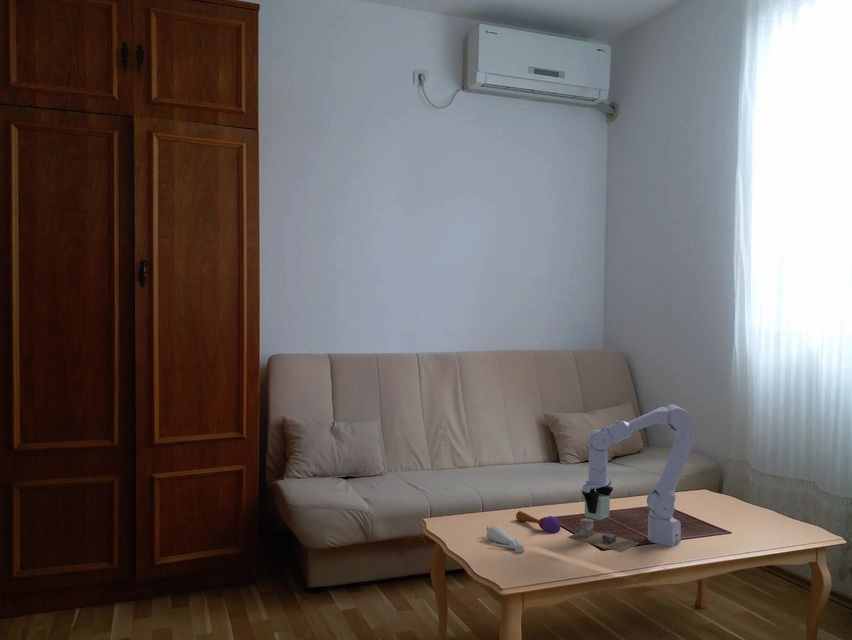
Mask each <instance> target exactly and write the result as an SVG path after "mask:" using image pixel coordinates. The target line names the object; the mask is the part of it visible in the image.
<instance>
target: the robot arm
mask: <svg viewBox="0 0 852 640" xmlns="http://www.w3.org/2000/svg"><path fill="white" fill-rule="evenodd" d="M655 424H659V425H664V426H669V428H671V430H672V432H673V434H674V436H675V440H674V441H673V445H672V447H671V450H670V452H669V455H668V458H667V460H666V463H665V466H664V468H663V471H662V474H661V476H660V478H659V480H658V481H659V482H658V483H657V484H656V485H655V486H654V488H653V490H652V491H651V492H650V493H649V494H648V495H647V497H646V504H647V506H648V508H649V511H648V513H647V515H648V518H647V519H648V520H647V521H648V522H647V523H648V524H647V540H648V541H649V542H651V543H654V544H659V545H663V546H668V547H672V548H673V547H675V546H677V545H679V544H680V543H681V540H682V537H681V535H682V534H681V533H682V525H681V521H680V520H679V519H675V518H674V517H673V515H674V513H675V508H676V507H675V501H676V488H677V486H678V484H679V481H680V478H681V476H682V473H683V469H684V467H685V465H686V463H687V459H688V457H689V454H690V452H691V449H692V446H693V444H694V442H695V438H696V436H695V431H694V425H693V418H692V415H690V413H689V412H688V410H687V409H684V408H681V407H679V406H677V405H676V404H674V403H673V404H672V403H670V404H666V405H665V406H660V407H657V408H656V409H654V410H652V411H649V412H647V413H645V414H642V415H640V416H638V417H636V418H634V419H631V420H630V421H625V420H618V419H616V420H614V423H612V424H610V425H607V426H600V429H594V430H591V432H590V433H589V434H588V437H587V438H586V439H587V443H588V444H589V453H588V479H585V484H583V485H582V489H581V494H582V495H583V498H584V501H585V500H586V503H587V507H588V511H589V513H593V514H595V512H596V508H597V501H598V498H599V495H600V494H603V495H607V496H610V497H611V494H612V492H613V489H614V487H613V486H612V484H613V479H612V478H611V477H610V478H608V448H609V447H610V446H611V445H614V444H616V443H619V442H621V441H623V440H626V439H629V438H630V437H631V436H632V434H633V432H635V431H638V430H642V429H644V428H646V427H650V426H653V425H655Z"/></svg>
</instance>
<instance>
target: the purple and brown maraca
mask: <svg viewBox="0 0 852 640" xmlns="http://www.w3.org/2000/svg"><path fill="white" fill-rule="evenodd" d="M515 518H516V520H517V521H520V522H526V523H533V524H537V525H539V527H540V529H541V530H542V531H544V532H546V533H549V534H557V533H559V532H560V531H561V527H562V526H561V522H560V520H559V518H557V517H556V516H552V515H548V516H545V517H541V518H540V519H538V518H536V517H533V516H531V515H529V514H528V513H526V512H524V511H521V510H519V511H517V512H516V514H515Z"/></svg>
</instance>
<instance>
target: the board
mask: <svg viewBox="0 0 852 640" xmlns="http://www.w3.org/2000/svg"><path fill="white" fill-rule="evenodd" d="M579 528H580V529H579V532H576V533H573V534H571V535H569V536H567V538H568V539H572V540H575V541H578V542H582V543H586V544H589V545H593V546H596V547H600V548H604V549H607V550H610V551H614V552H617V553H623V552H625V551H627V550H630V549H631V548H633V547H635V546H637V545H639V544H641V542H638V541H635V540H630V539H627V538H623V537H620V536H619V537H618V536H617V535H615V534H612V533H608V532H606V533H604V532H601V531H596V530H594V519H592V518H588V517H585V518H581V519H580V526H579Z"/></svg>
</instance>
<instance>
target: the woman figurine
mask: <svg viewBox="0 0 852 640" xmlns="http://www.w3.org/2000/svg"><path fill="white" fill-rule="evenodd" d="M486 538H487V539H488V540H490V541H493V542H491V545H492V546H498V547H502V548H503V547H504V548H508V549H510V550H514V552H515V553H517V554H522V553H524V552H525V547H524V545H523V544H521V541H522V539H523V538H522V537H521V536H520V537H519V541H517V539H512V537H511V536H510V535H509V534H508V533H507V532H506V531H505V529H504V528H503V527H502V526H500V525H498V524H497V525H495V524H494V525H492V526H490V527H489V526H486Z"/></svg>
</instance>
